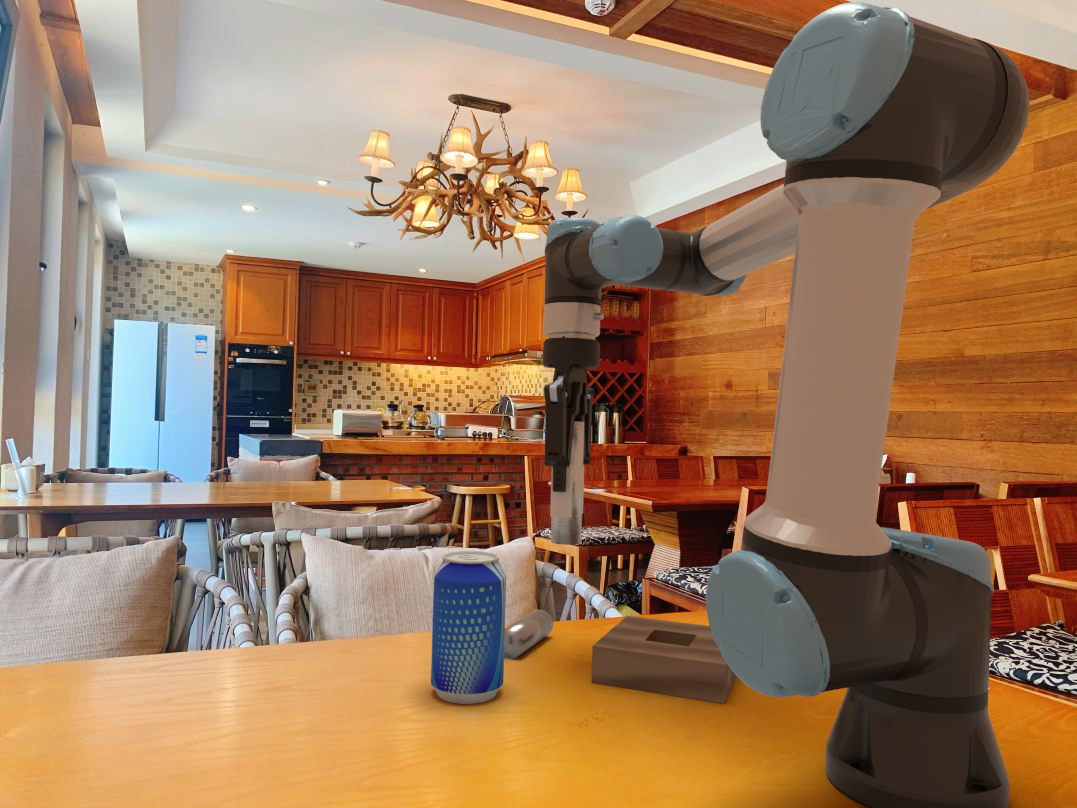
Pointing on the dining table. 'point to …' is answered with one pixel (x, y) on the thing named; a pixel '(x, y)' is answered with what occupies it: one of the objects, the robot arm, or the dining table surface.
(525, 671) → the dining table surface
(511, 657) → the lying peg
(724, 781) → the dining table surface
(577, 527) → the peg
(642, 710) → the dining table surface
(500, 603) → the beer can
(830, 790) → the dining table surface
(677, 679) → the socket block
